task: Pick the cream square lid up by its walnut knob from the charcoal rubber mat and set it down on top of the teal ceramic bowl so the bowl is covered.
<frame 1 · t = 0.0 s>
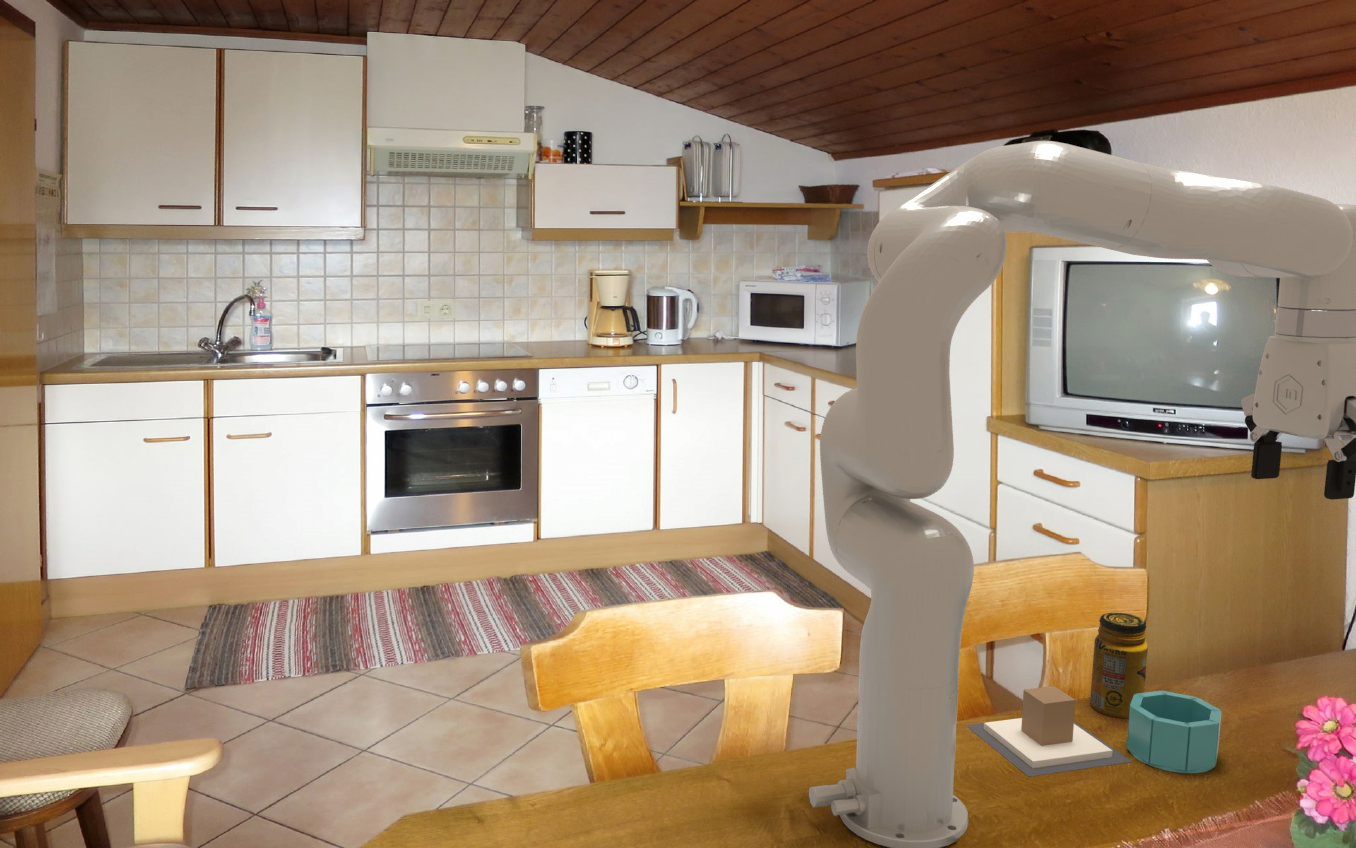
hand: (1300, 487, 117), 31 cm above the table, fingers open, 9 cm apart
bowl: (1171, 759, 124), on the table
mat: (1045, 747, 126), on the table
condiment: (1110, 715, 135), on the table
lid: (1046, 742, 126), resting on mat
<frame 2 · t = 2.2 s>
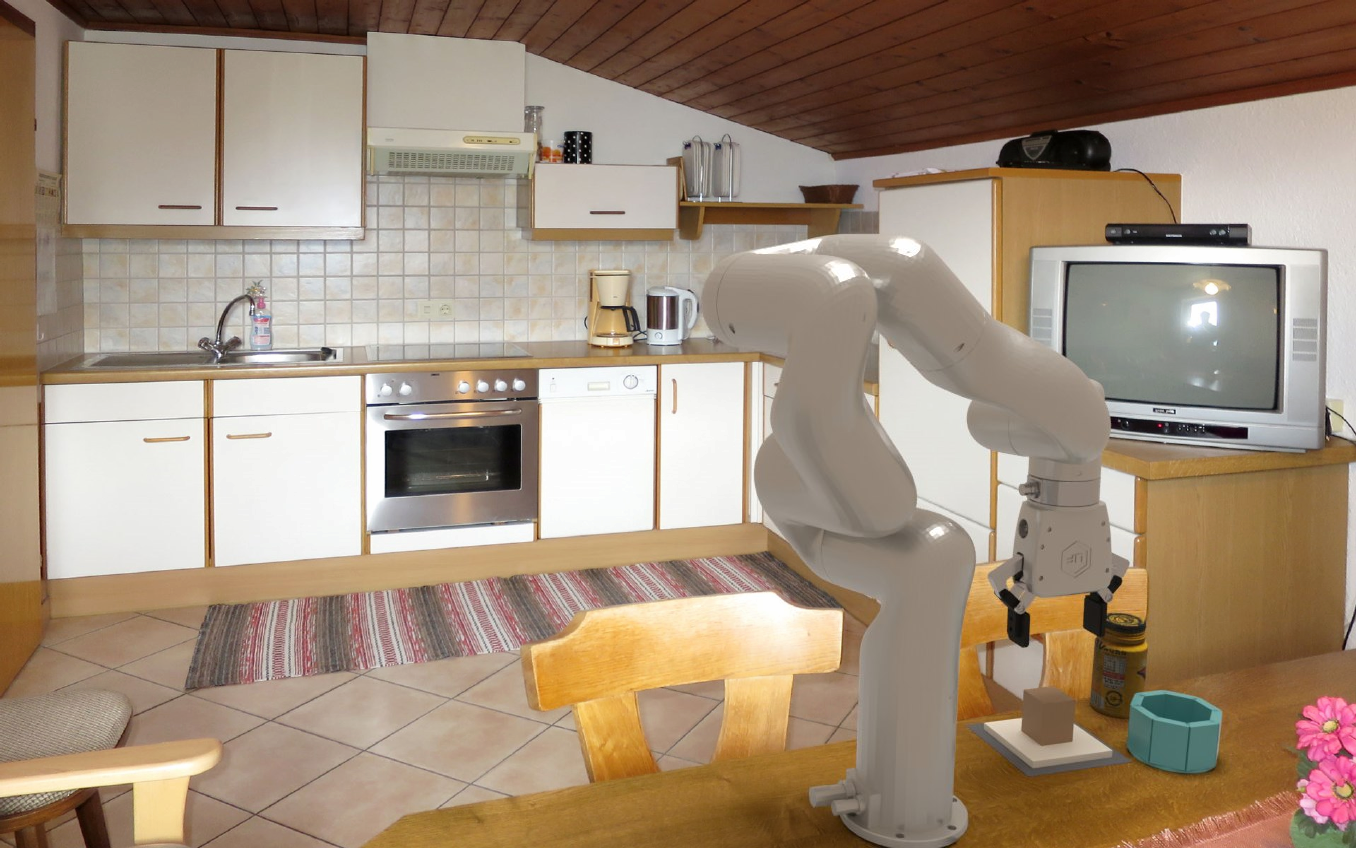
hand: (1056, 638, 124), 13 cm above the table, fingers open, 9 cm apart
nothing on the table moved.
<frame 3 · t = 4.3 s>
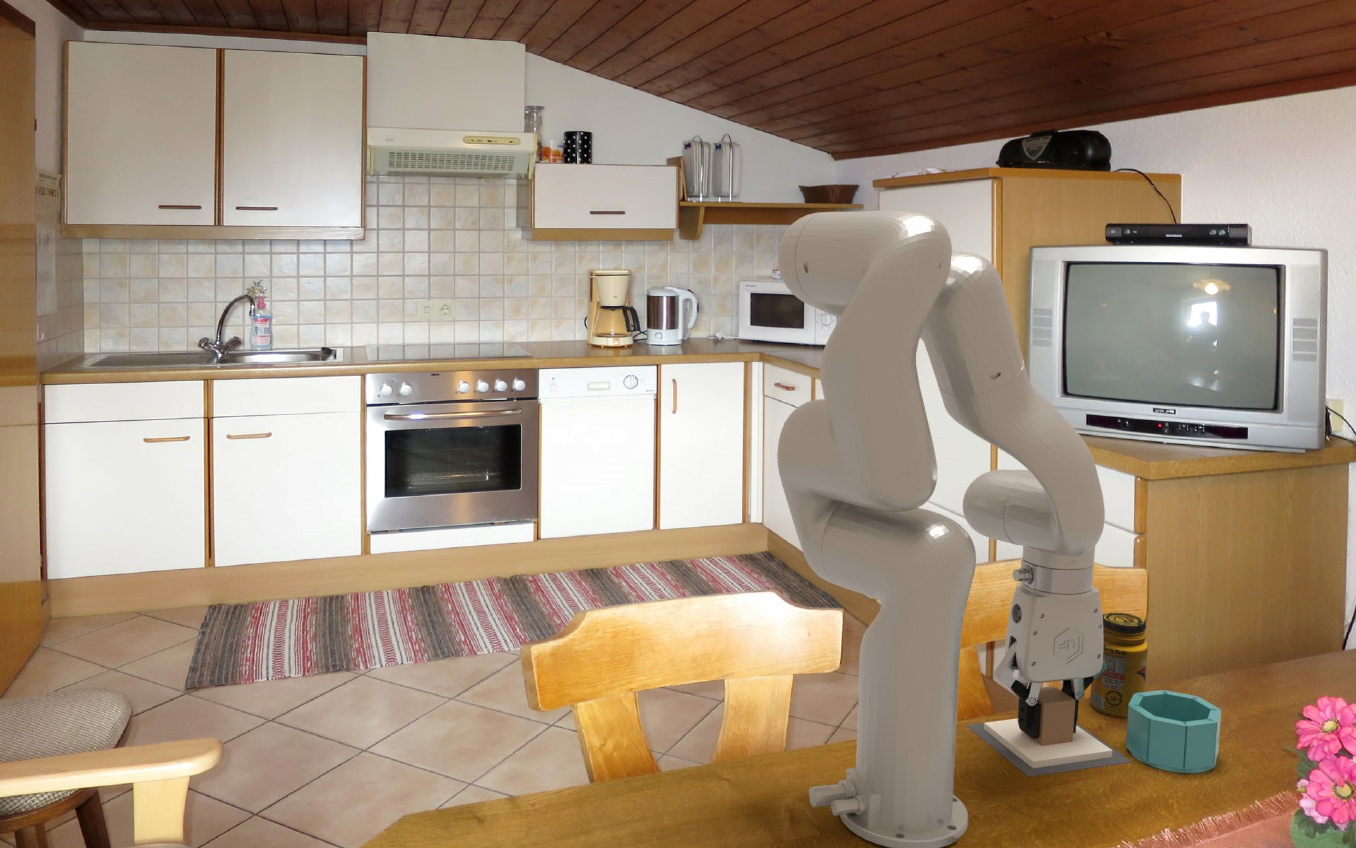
hand: (1047, 729, 126), 2 cm above the table, fingers closed on lid, 4 cm apart
lid: (1046, 742, 126), point 1 cm above the table, touching gripper, mat
everything else where it was.
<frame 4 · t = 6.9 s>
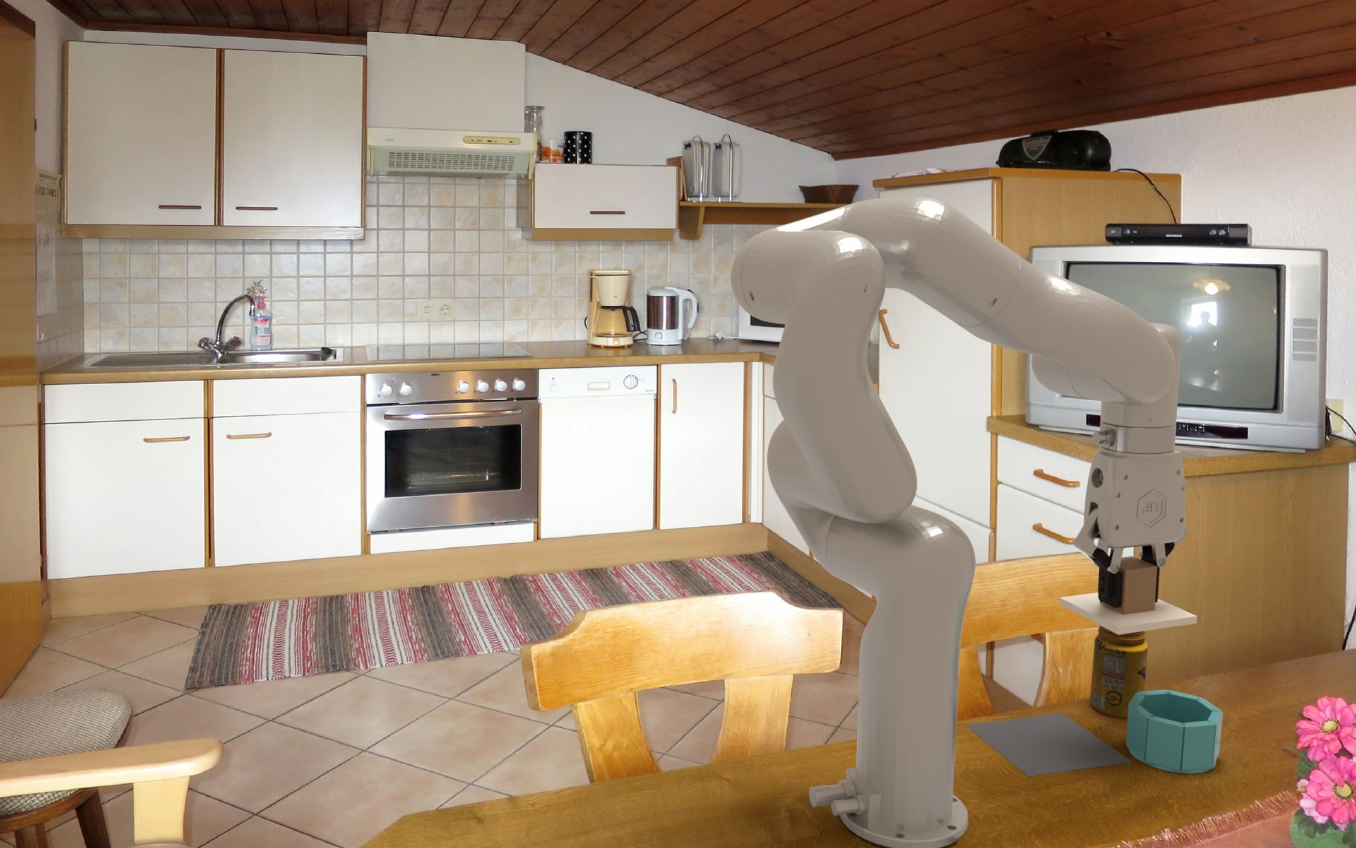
hand: (1127, 599, 122), 18 cm above the table, fingers closed on lid, 4 cm apart
lid: (1126, 613, 122), point 16 cm above the table, touching gripper
everything else where it was.
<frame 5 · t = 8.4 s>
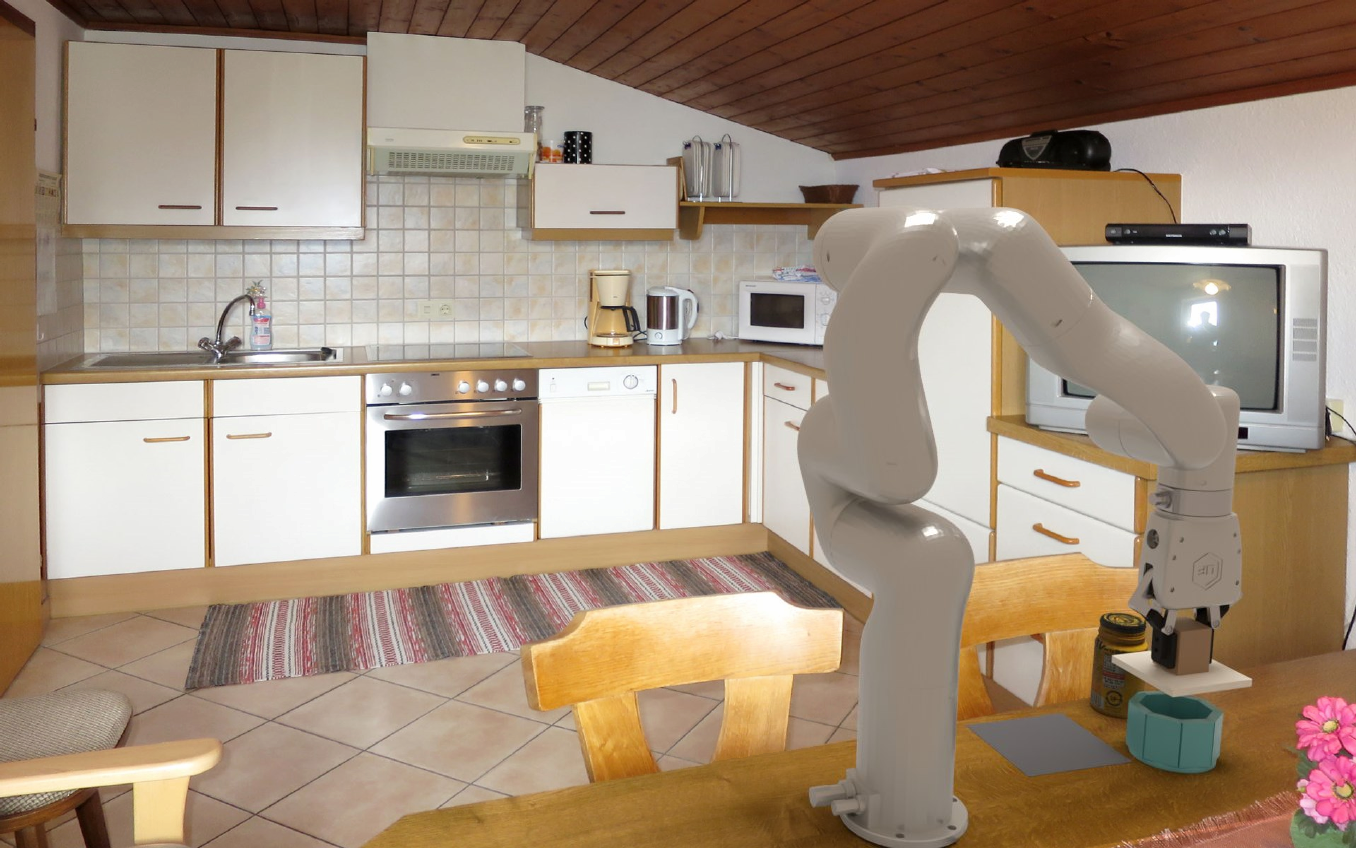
hand: (1181, 660, 122), 11 cm above the table, fingers closed on lid, 4 cm apart
lid: (1179, 674, 122), point 10 cm above the table, touching gripper
everything else where it was.
when the fingers open (9 cm above the table, at t = 9.5 s): lid drops 2 cm, resting on bowl.
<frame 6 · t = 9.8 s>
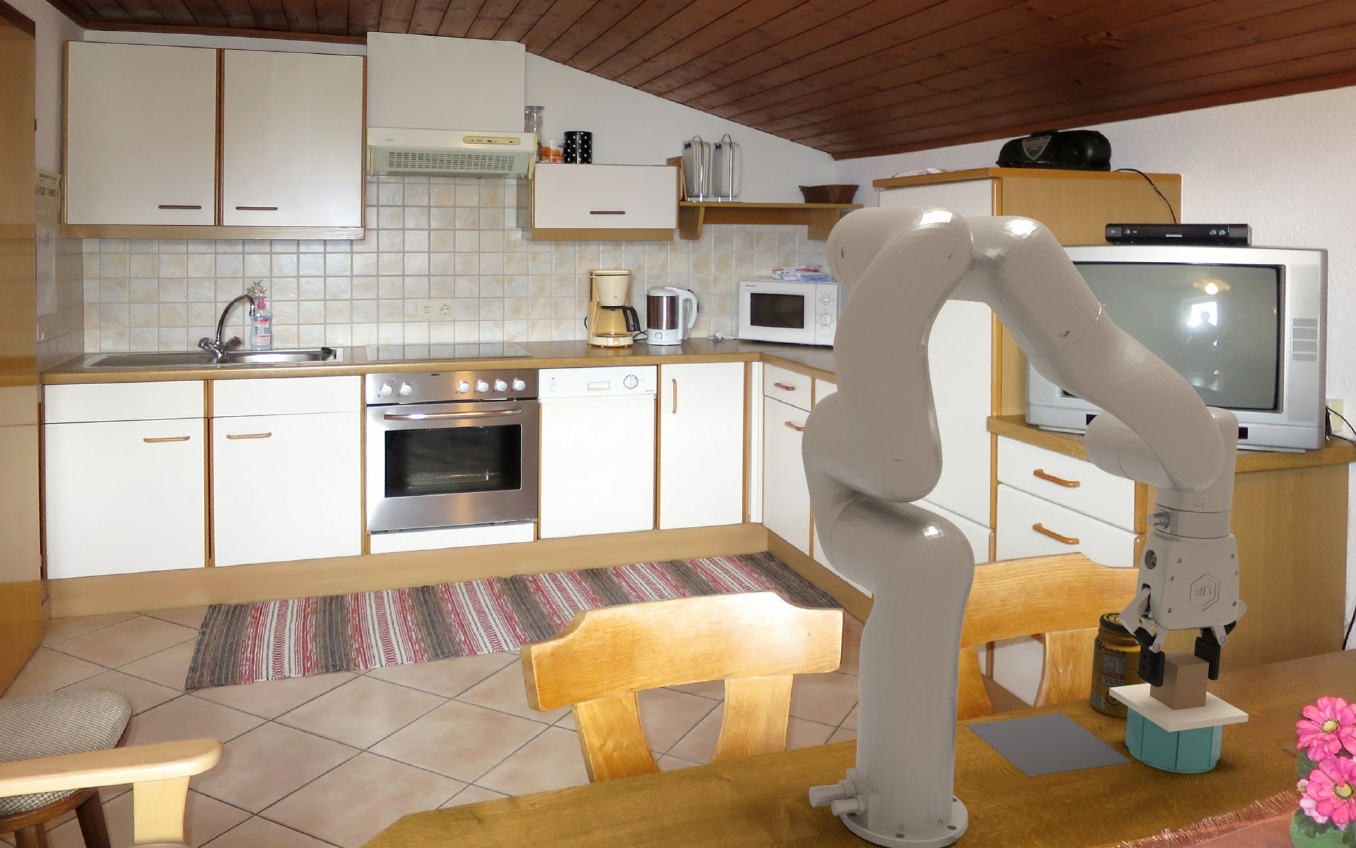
hand: (1178, 677, 122), 9 cm above the table, fingers open, 6 cm apart
bowl: (1171, 759, 124), on the table, touching lid
lid: (1176, 707, 123), point 6 cm above the table, touching bowl
everything else where it was.
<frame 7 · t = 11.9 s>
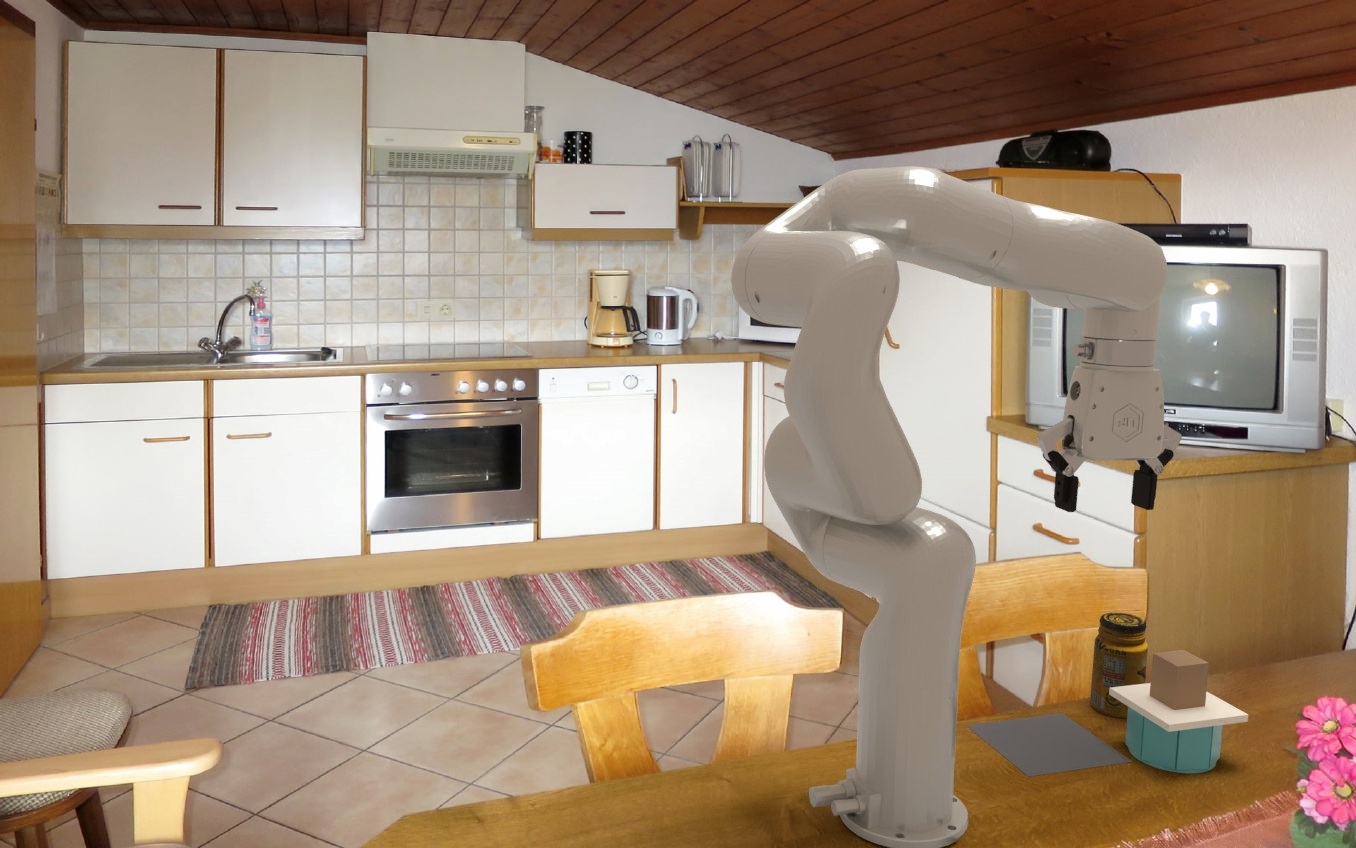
hand: (1103, 508, 123), 28 cm above the table, fingers open, 9 cm apart
bowl: (1171, 758, 124), on the table
lid: (1176, 707, 123), point 6 cm above the table
everything else where it was.
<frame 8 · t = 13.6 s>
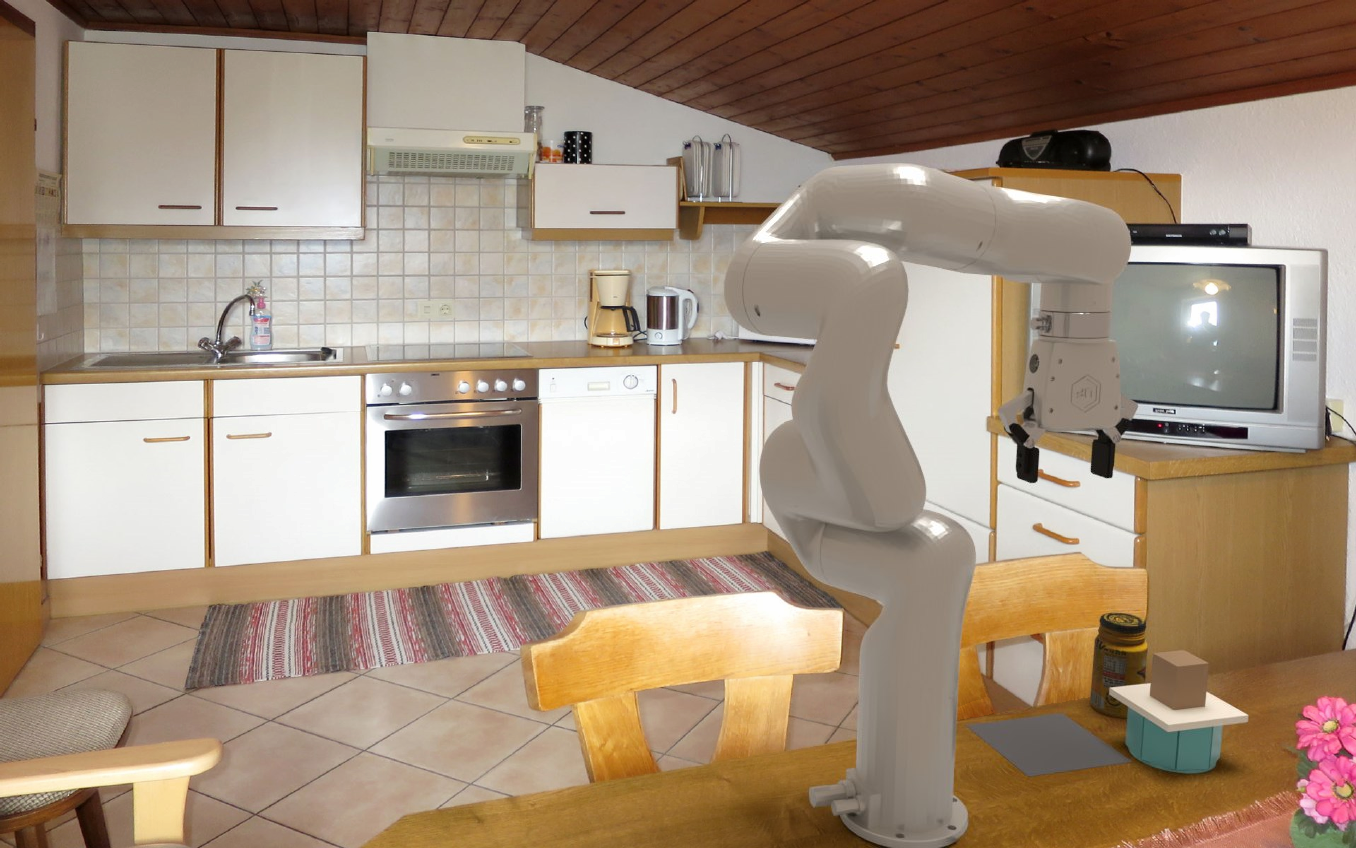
hand: (1064, 478, 126), 30 cm above the table, fingers open, 9 cm apart
bowl: (1171, 758, 124), on the table, touching lid
lid: (1176, 707, 123), point 6 cm above the table, touching bowl
everything else where it was.
at the end: lid 0.1 cm from the bowl (horizontally); lid 0.1 cm off-centre on the bowl, point 6.0 cm above the bowl's base; lid tilted 0° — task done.
